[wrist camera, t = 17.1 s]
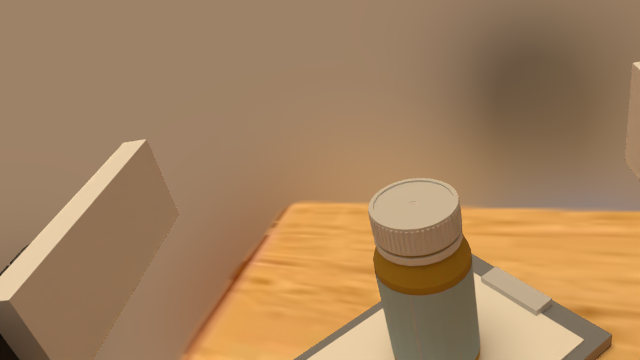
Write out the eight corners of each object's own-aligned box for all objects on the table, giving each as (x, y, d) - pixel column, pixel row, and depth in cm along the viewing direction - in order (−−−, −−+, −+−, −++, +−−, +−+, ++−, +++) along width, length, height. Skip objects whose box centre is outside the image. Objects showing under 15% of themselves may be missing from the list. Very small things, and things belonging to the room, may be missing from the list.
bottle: (483, 323, 45) (469, 173, 37) (478, 394, 39) (460, 235, 32) (402, 317, 47) (374, 175, 40) (386, 382, 42) (350, 233, 35)
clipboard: (461, 256, 55) (460, 241, 54) (611, 345, 42) (612, 327, 41) (280, 379, 46) (274, 364, 45) (399, 534, 34) (394, 518, 33)
